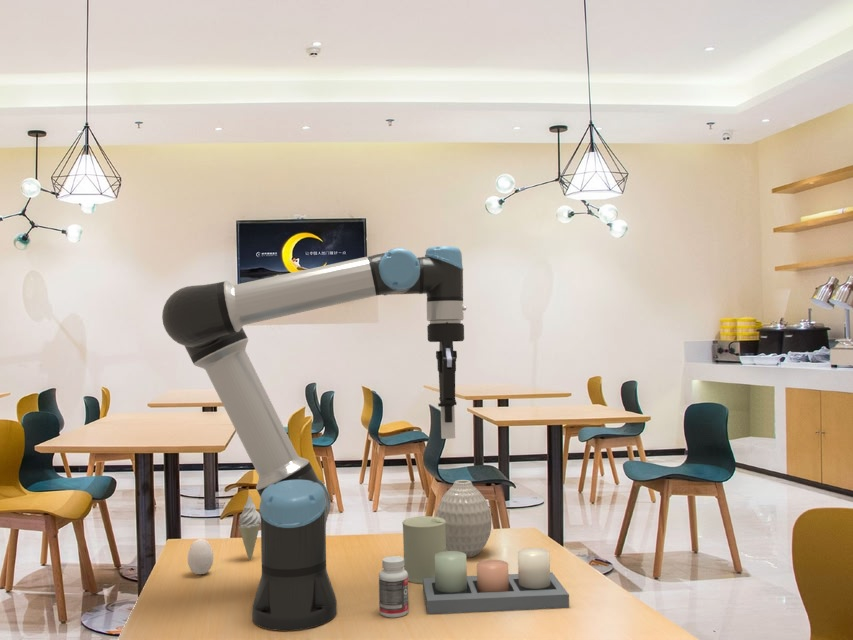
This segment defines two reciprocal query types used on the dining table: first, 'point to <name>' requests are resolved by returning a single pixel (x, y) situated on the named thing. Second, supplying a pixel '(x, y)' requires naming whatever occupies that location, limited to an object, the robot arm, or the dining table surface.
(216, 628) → the dining table surface
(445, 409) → the robot arm
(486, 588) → the pink cylinder
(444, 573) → the pale green round piece
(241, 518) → the ice cream cone
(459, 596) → the board
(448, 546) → the vase
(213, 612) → the dining table surface
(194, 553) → the egg
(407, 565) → the can
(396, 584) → the pill bottle
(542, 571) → the cream cylinder
